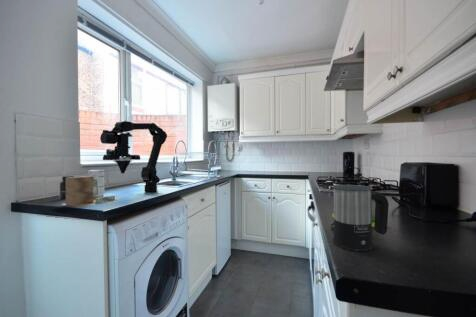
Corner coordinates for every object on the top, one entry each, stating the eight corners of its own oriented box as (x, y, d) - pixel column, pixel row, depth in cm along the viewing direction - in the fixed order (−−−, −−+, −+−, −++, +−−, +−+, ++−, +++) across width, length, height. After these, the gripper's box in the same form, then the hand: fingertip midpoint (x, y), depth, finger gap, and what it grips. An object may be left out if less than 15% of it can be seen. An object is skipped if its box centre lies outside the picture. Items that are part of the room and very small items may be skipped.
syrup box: (105, 194, 129) (104, 169, 129) (97, 196, 123) (97, 170, 123) (95, 194, 130) (95, 169, 130) (88, 195, 124) (88, 170, 124)
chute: (102, 199, 115) (102, 193, 115) (121, 201, 109) (121, 195, 109) (60, 206, 98) (60, 199, 98) (80, 209, 92) (80, 202, 92)
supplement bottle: (59, 201, 109) (59, 177, 109) (59, 199, 114) (59, 176, 114) (76, 199, 114) (76, 176, 114) (75, 197, 119) (75, 175, 119)
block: (85, 201, 103) (84, 176, 103) (93, 202, 101) (93, 176, 100) (65, 205, 96) (65, 177, 96) (74, 206, 93) (73, 178, 93)
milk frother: (354, 255, 50) (354, 190, 50) (307, 232, 65) (307, 182, 65) (394, 245, 56) (394, 186, 56) (342, 226, 70) (343, 180, 70)
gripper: (127, 145, 131) (127, 171, 131) (95, 144, 114) (95, 174, 114) (140, 145, 127) (140, 172, 127) (110, 143, 110) (110, 174, 110)
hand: (122, 173), depth 120 cm, fingers closed
